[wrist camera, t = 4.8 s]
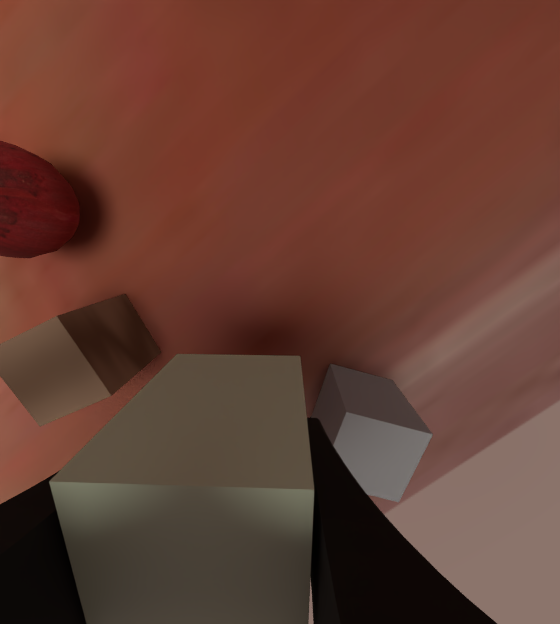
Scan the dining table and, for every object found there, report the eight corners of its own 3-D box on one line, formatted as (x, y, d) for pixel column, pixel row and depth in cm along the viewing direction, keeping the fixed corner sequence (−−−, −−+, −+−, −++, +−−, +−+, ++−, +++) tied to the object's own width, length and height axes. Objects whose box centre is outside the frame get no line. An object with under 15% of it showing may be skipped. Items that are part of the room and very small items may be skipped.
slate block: (369, 432, 22) (398, 502, 16) (310, 417, 22) (318, 482, 16) (392, 379, 21) (432, 434, 15) (330, 363, 20) (346, 411, 15)
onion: (85, 150, 17) (-85, 75, 9) (122, 240, 18) (2, 240, 11) (6, 178, 18) (-217, 129, 10) (48, 263, 19) (-117, 280, 11)
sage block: (297, 459, 12) (306, 663, 6) (187, 456, 12) (93, 653, 6) (300, 355, 11) (314, 490, 5) (177, 354, 11) (48, 481, 5)
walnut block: (161, 351, 21) (111, 395, 15) (108, 375, 21) (40, 426, 15) (125, 293, 19) (56, 316, 14) (70, 320, 20) (-18, 353, 14)
